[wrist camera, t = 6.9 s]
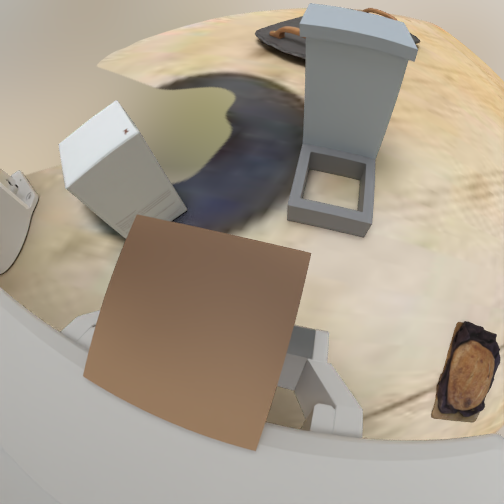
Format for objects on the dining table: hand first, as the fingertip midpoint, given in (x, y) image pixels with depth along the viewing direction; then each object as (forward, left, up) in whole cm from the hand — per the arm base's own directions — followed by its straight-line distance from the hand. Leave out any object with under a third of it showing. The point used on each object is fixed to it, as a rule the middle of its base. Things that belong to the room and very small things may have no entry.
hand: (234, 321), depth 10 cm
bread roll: (+20, +12, -15) cm, 27 cm away
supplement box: (-19, 0, -15) cm, 24 cm away
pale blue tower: (-7, +18, -14) cm, 24 cm away
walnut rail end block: (0, -1, -7) cm, 7 cm away
